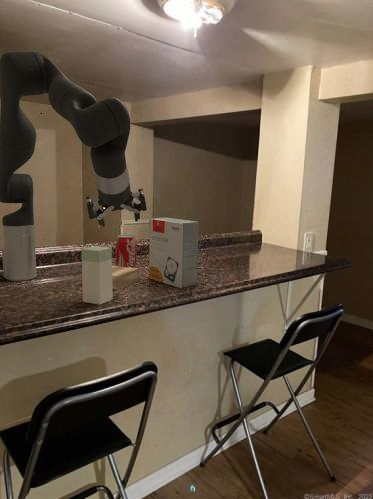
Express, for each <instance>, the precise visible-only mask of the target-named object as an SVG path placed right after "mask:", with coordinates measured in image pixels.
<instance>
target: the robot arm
mask: <svg viewBox="0 0 373 499" xmlns="http://www.w3.org/2000/svg"><path fill="white" fill-rule="evenodd" d="M45 94H47V95H48V101H49V104H50V106H51V107H52V109H53V110H54V111H55V112H56V113H57V114H58V115H60V117H62V118H63V119H65V120H66V121H67V122H69V124H70V125H71V126H72V128H73V129H74V131H75V133H76V136H77V137H78V139H79V140H80V142H81V143H82V144H83V145H84V146H87V147H89V148H90V151H89V153H90V159H91V163H92V168H93V177H94V184H95V187H96V191H97V194H98V197H97V198H96V197H94V198H92V197H91V196H86V197H85V199H86V200H85V201H86V209H87V213H88V219H89V220H94V219H96V220H97V223H98V226H101V227H103V228H104V227H106V223H105V218H104V217H105V216H107V215H108V214H109V213H110V212H116V211H122V210H123V211H124V210H126V211H128V212H133V217H134V221H135V222H138V221H139V220H140V219H141V212H142V211H143V212H146V211H147V208H148V207H147V202H146V197H145V192H144V188H139V189H138V190H137V191H136V192H132V190H131V184H130V175H129V169H128V166H127V159H126V150H127V145H128V143H129V142H128V141H129V137H130V133H131V116H130V112H129V110H128V108H127V106H126V104H125V103H124V102H123V101H122V100H120V99H119V98H118V97H113V96H110V97H106V98H104V99H102V100H100V101H97V99H96V98H95V96H94V95H93V94H92V93H91V92H90V91H89V92H88V91H87V90H86V89H84V88H83V87H81V86H79V85H78V84H76V83H74V81H72V80H70V78H68V77H67V76H66V75H65V74H64V72H63V71H61V70H60V68H58V66H57V65H56V64H55V63H54V62H53V61H52V60H51V59H50V58H49V57H48V56H46V54H43V53H41V52H39V51H9V52H5V53H3V54H2V55H1V57H0V203H2V204H21V207H19V209H17V210H15V211H13V212H10V213H8V214H5V215H4V216H3V217H2V218H1V222H2V234H3V236H2V237H3V248H2V249H1V254H2V256H1V257H2V270H3V278H5V279H6V280H9V281H27V280H32V279H35V278H37V261H36V260H37V258H36V257H37V256H36V239H35V238H36V237H35V220H34V219H35V218H34V214H35V213H34V182H33V177H32V176H31V175H30V174H27V173H16V171H17V170H18V169H20V168H22V167H23V166H24V165H25V164H27V163H28V162H29V160H30V159H31V158H32V157H33V156H34V153H35V148H36V143H37V131H36V128H35V125H34V123H33V122H32V121H31V120H30V119H29V117H28V116H27V115H26V114H25V112H24V111H23V110H22V107H21V106H20V100H21V98H22V97H30V96H31V97H32V96H42V95H45ZM134 199H136V201H135V200H134ZM137 201H138V202H139V203H138V202H137ZM97 205H99V206H98V207H97V208H96V206H97ZM95 208H96V210H95Z"/></svg>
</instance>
